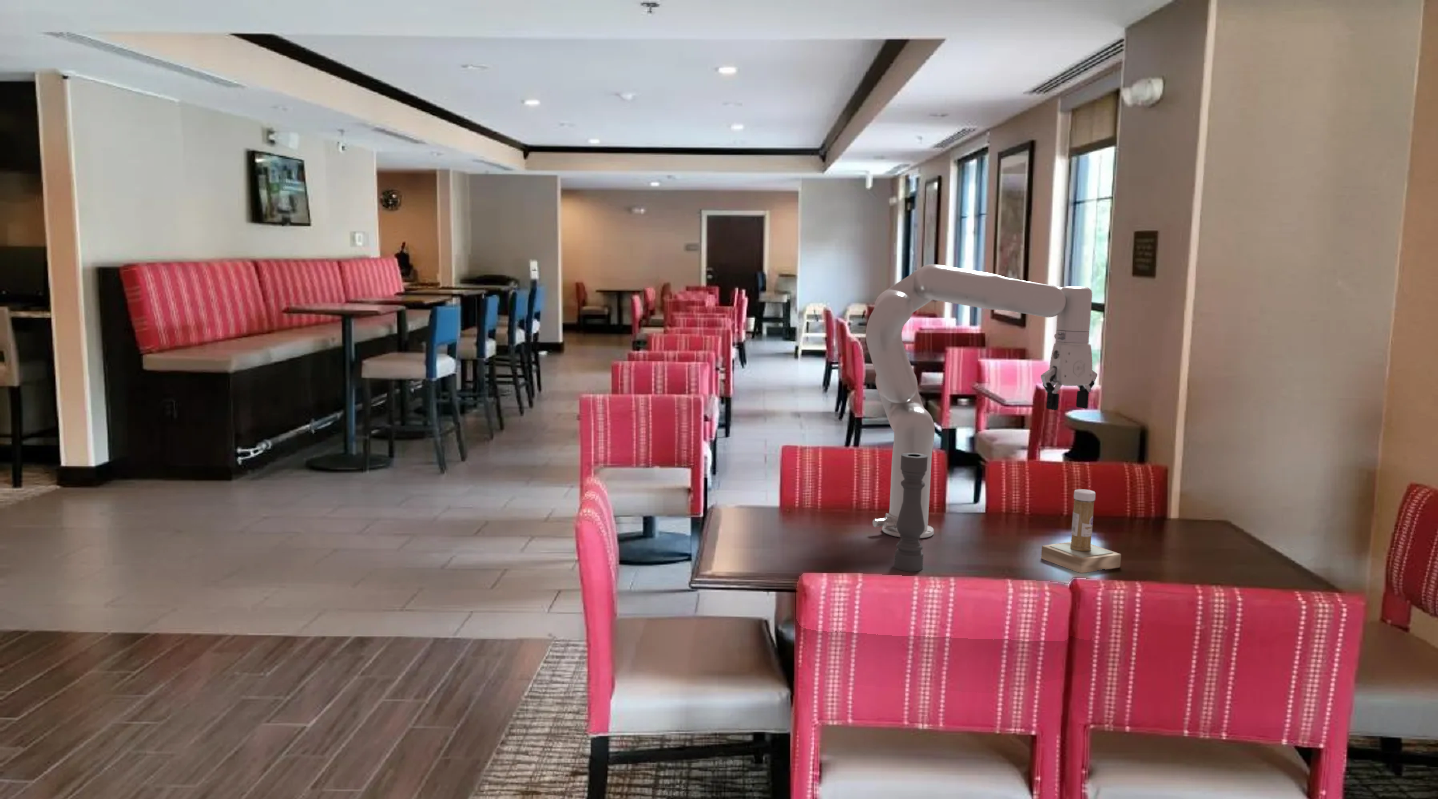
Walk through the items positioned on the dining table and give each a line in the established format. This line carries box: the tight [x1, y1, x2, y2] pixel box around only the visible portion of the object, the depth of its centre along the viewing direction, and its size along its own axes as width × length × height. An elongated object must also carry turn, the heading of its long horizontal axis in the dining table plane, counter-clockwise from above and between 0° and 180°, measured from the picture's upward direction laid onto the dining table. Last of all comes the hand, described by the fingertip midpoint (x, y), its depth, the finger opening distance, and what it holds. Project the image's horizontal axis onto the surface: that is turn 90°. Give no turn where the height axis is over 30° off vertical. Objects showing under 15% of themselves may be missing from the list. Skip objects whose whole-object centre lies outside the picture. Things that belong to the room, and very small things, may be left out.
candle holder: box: [893, 453, 928, 572], centre depth 226 cm, size 6×6×25 cm
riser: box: [1040, 541, 1122, 574], centre depth 235 cm, size 12×12×3 cm
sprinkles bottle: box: [1070, 488, 1096, 551], centre depth 234 cm, size 5×5×13 cm
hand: (1067, 408), depth 251 cm, fingers open, 9 cm apart
